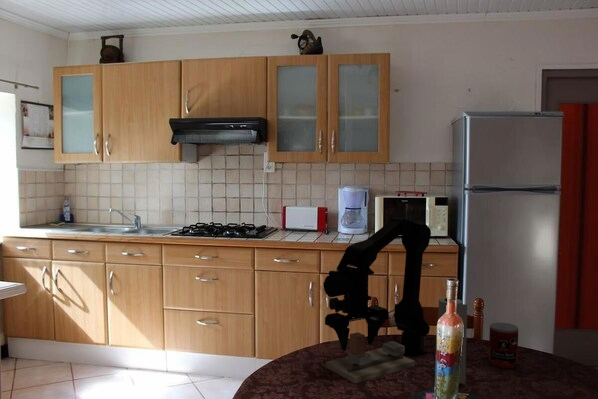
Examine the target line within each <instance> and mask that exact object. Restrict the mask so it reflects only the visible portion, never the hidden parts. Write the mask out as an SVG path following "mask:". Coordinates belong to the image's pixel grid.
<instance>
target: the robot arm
mask: <svg viewBox="0 0 598 399" xmlns="http://www.w3.org/2000/svg"><path fill="white" fill-rule="evenodd" d="M431 231H432V230H431V228H430V227H429V225H428V224H426V223H418V222H414V221H411V220H408V219H406V218H402V217H401V218H400V217H392V218H390V219H389V221H388V222H387V223H386V224H385V225H383V226H382V227H380V229H378V230H377V231H376V232H374V233H373V234H371V235H370V236H369V237H368V238H366V239H364V240H362V241H358V242H355V243H351V245H349V246H347V247H346V248H345V249H344V253H343V255H342V257H341V259H340V261H339V263H338V265H337V266H336V270H329V271H328V275H327V276H326V277H325V279H324V281H323V284H322V285H323V286H322V287H323V291H324V293H325V294H326V295H327V296H328V297H330V298H329V304H328V305H329V309H330V310H331V311H334V312H333V313H328V314H326V315H325V317H324V325H325V326H328V327H329V328H330V329H332V330H334V332H335V334H336V335H337V338H338V342H339V344H340V347H341V349H342V351H343V352H346V351H347V347H348V342H349V338H350V330H351V329H350V328H349V326H350V323H351V322H355V321H361V320H365V323H366V335H367V338H366V339H367V345H370V346H371V345H373V341H374V340H375V338H376V337H377V334H378V332H379V331H380V329H381V328H382V326H383V324H385V323H386V320H389V318H390V317H389V316H390V315H389V314H390V313H389V310H388V309H387V307H386V308H385V307H382V306H379V305H371V306H369V301H372V296H371V295H369V276H371V275H375V271H373V269H371V268H370V267H371V266H372V265H373V264H374V262H375V261H377V257H378V254H379V253H380V251H382V250H383V249H384V248H385V247H386V248H387V246H388V245H390V244H391V243H392V242H393V241H395V240H396V239H397V238H398V237H399V236H401V243H402V246H403V248H404V250H405V262H404V275H403V287H402V298H401V300H400V301H399V303H395V304H394V307H393V308H394V312H393V316H392V317H393V318H394V322H395V325H396V329H397V330H398V331H401V338H400V344H401V345H403V346H405V354H406V355H409V356H411V357H416V356H419V355H422V354H426V353H428V350H426V349H424V338H425V337H426V336H427V335H428V334H429V333H430V329H431V326H430V325H429V324H428V322H427V321H426V320H425V318H424V308H423V306H422V304H421V302H420V292H421V291H420V290H421V279H422V269H423V255H424V252H425V251H426V250H427V248H428V247H429V245H430V241H431V236H432V232H431ZM340 296H343V299H339V298H338V297H340ZM340 312H342V313H343V314H341V313H340Z"/></svg>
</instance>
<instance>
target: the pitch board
mask: <svg viewBox="0 0 598 399" xmlns="http://www.w3.org/2000/svg"><path fill="white" fill-rule="evenodd" d="M365 352H366V353H368V354H370V355H371V363H368V364H364V365H360V366H359V365H355V363H353V362H351V361H349V360H348V356H345V357H339V358H335V359H332V360H329V361H325V364H324V365H325V368H326V369H328V370H330V371H332V372H333V373H335V374H337V375H338V376H340V377H343V378H344V379H346V380H348V381H350V382H351V383H353V384H357V383H361V382H365V381H368V380H369V381H370V380H372V379H375V378H379V377H381V376H382V377H383V376H385V375H389V374H392V373H396V372H399V371H402V370H405V369H409V368H413V367H416V365H415V364H416V360H414V359H412V358H409V357H406V356H404V354H406V353H405V346H403V345H401V343H398V342H396V341H393V340H391V341H387V342H383V343H382V347H381V348H380V347H379V348H376V349H372V350H368V351H365Z"/></svg>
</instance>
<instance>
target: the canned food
mask: <svg viewBox="0 0 598 399" xmlns="http://www.w3.org/2000/svg"><path fill="white" fill-rule="evenodd" d="M488 341H489V342H488V343H489V344H488V346H489V347H488V348H489V349H488V360H489V363H490V364H491V365H492V366H494V367H495V368H499V369H514V368H516V367H517V365H518V349H519V348H518V347H519V328H518V326H517V325H515V324H511V323H507V322H492V323H490V324H489V340H488Z"/></svg>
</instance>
